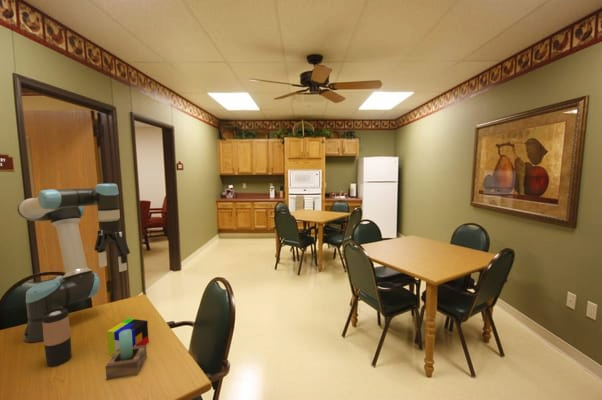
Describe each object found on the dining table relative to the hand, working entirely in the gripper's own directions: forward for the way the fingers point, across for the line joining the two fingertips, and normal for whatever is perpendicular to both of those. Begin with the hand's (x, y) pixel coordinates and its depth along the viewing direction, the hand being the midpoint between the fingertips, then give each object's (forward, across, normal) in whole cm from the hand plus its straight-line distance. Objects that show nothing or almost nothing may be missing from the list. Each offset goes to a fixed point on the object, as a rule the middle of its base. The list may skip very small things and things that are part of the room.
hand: (113, 268), depth 115 cm
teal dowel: (+31, -21, +9) cm, 38 cm away
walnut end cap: (+33, -21, +9) cm, 40 cm away
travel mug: (+33, +8, +17) cm, 38 cm away
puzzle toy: (+33, -10, +1) cm, 34 cm away
